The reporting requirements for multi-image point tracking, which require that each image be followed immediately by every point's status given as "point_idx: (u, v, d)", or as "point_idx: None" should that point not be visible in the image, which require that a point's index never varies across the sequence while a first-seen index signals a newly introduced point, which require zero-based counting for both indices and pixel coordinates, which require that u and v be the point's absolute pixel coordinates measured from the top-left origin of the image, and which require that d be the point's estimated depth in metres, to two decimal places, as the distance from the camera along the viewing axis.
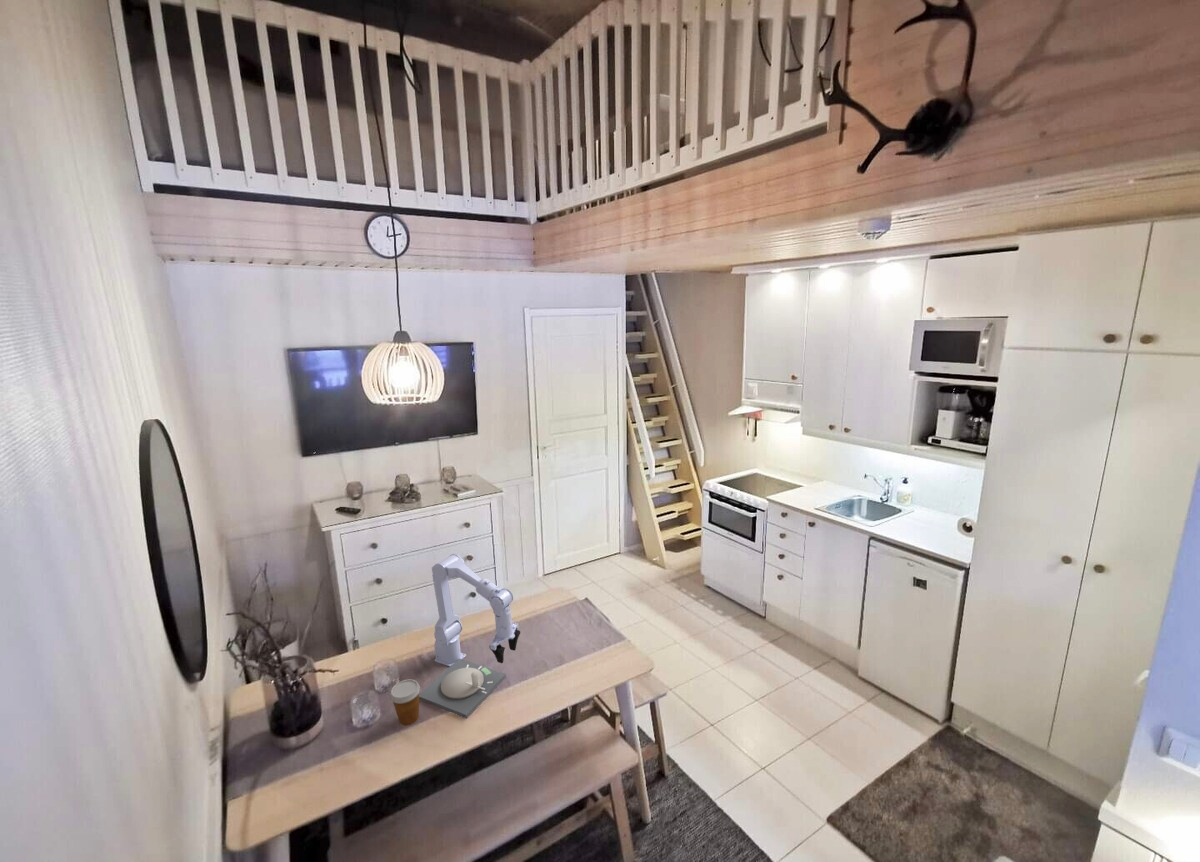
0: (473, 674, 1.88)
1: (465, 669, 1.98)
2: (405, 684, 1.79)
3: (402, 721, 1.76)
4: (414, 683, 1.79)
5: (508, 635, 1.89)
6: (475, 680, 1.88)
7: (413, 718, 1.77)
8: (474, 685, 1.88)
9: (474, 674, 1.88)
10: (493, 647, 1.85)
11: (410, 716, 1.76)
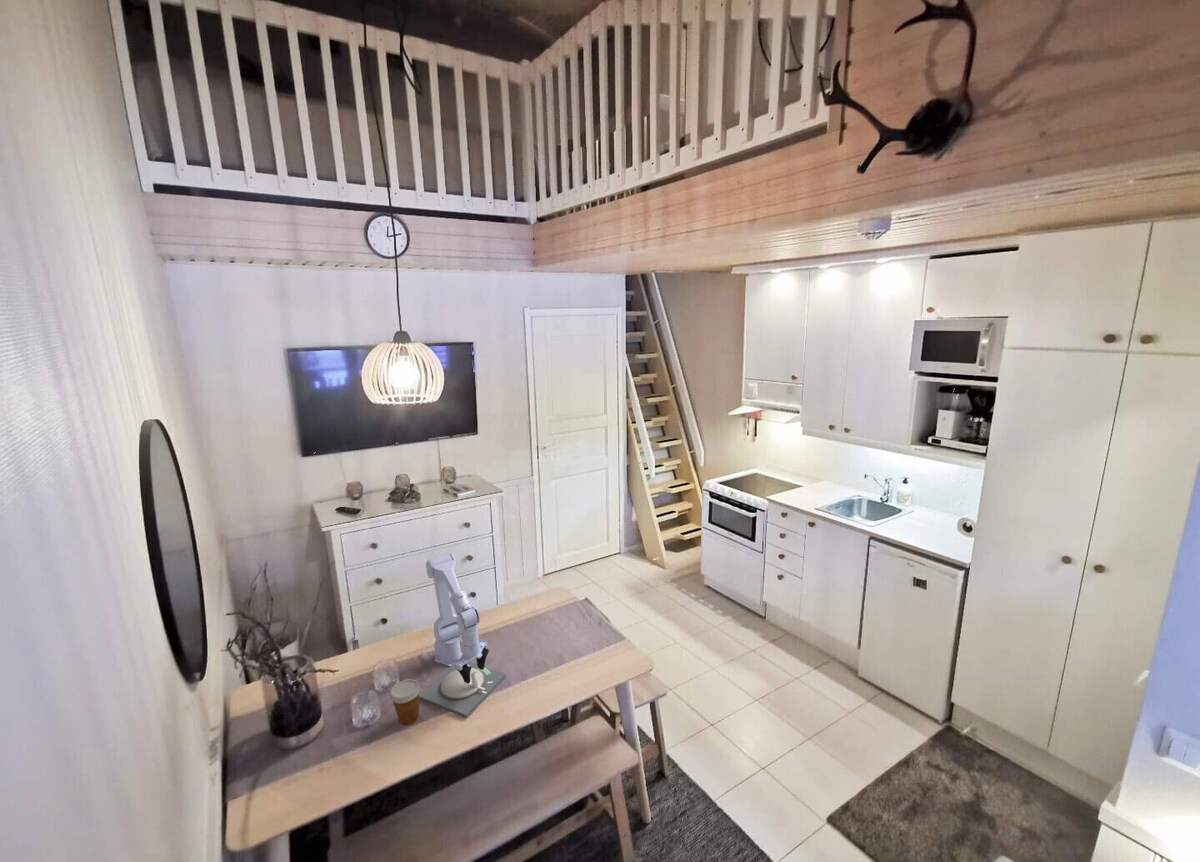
0: (473, 674, 1.88)
1: None
2: (405, 684, 1.79)
3: (402, 721, 1.76)
4: (414, 683, 1.79)
5: (475, 654, 1.84)
6: (475, 680, 1.88)
7: (413, 718, 1.77)
8: (474, 685, 1.88)
9: (474, 674, 1.88)
10: (459, 667, 1.80)
11: (410, 716, 1.76)
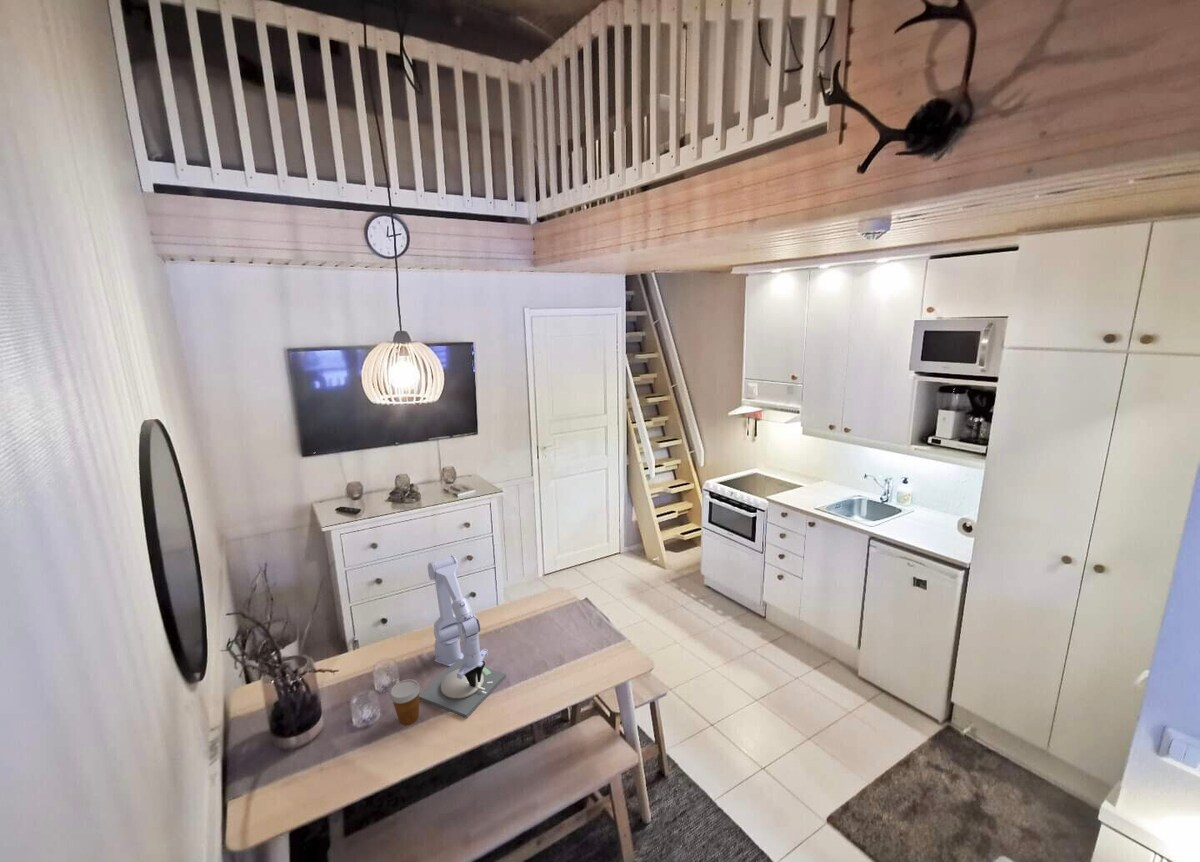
0: None
1: None
2: (405, 684, 1.79)
3: (402, 721, 1.76)
4: (414, 683, 1.79)
5: (476, 663, 1.85)
6: None
7: (413, 718, 1.77)
8: None
9: None
10: (460, 676, 1.81)
11: (410, 716, 1.76)
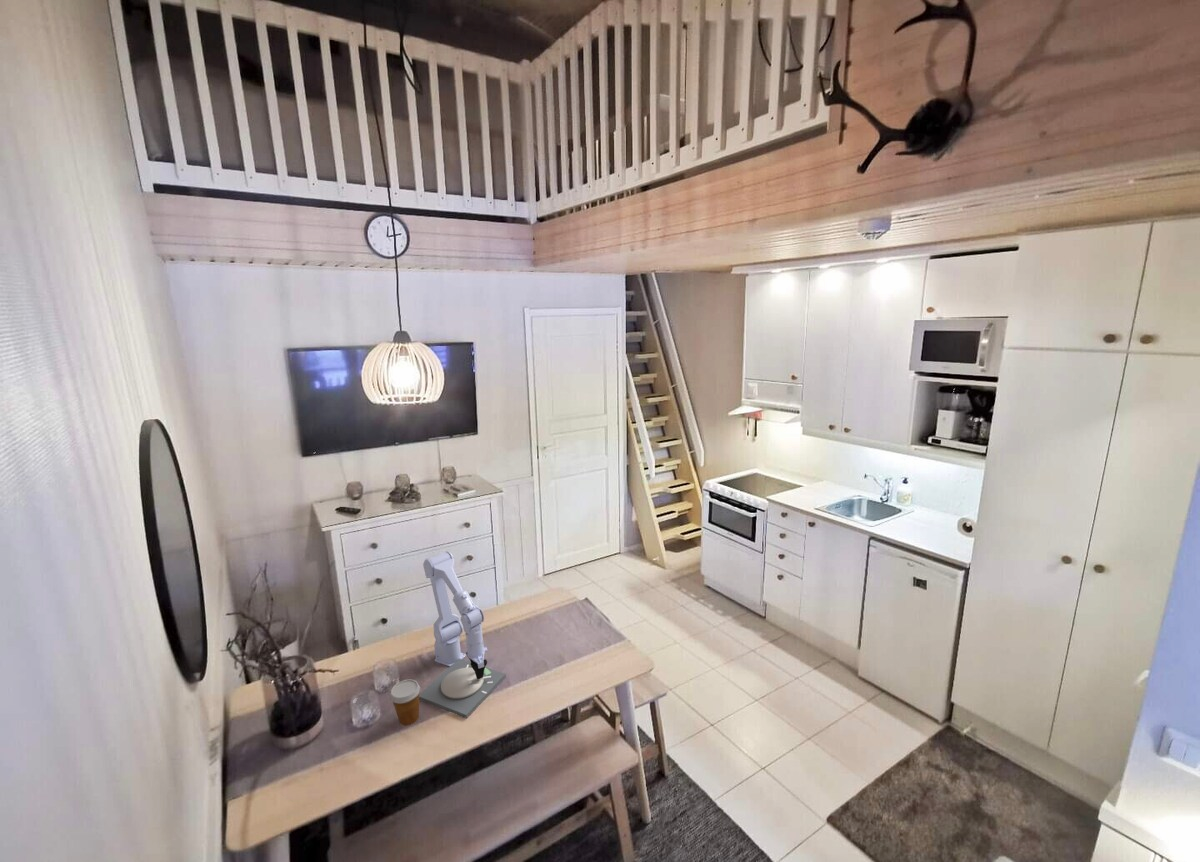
0: None
1: (454, 672, 1.97)
2: (405, 684, 1.79)
3: (402, 721, 1.76)
4: (414, 683, 1.79)
5: (483, 649, 1.92)
6: None
7: (413, 718, 1.77)
8: None
9: None
10: (483, 664, 1.86)
11: (410, 716, 1.76)
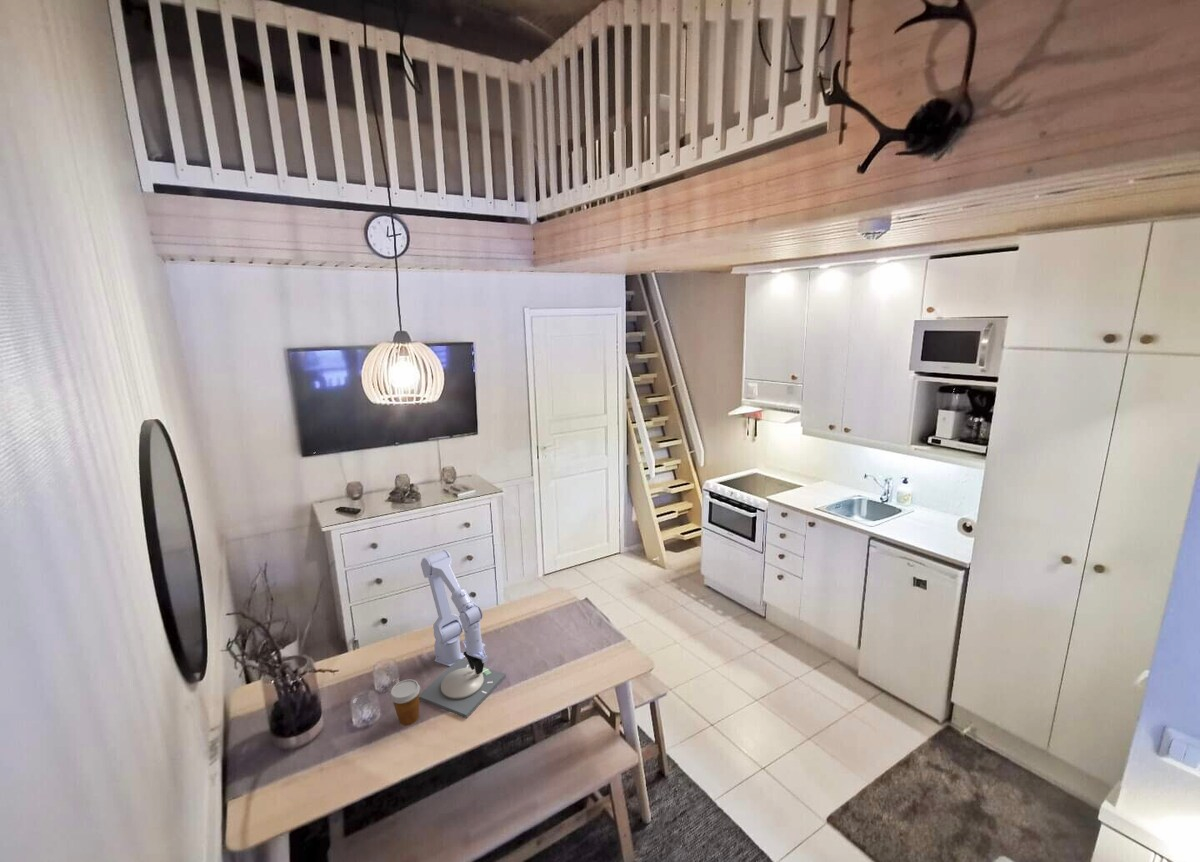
0: None
1: (448, 676, 1.95)
2: (405, 684, 1.79)
3: (402, 721, 1.76)
4: (414, 683, 1.79)
5: (482, 645, 1.94)
6: None
7: (413, 718, 1.77)
8: None
9: None
10: (486, 658, 1.89)
11: (410, 716, 1.76)
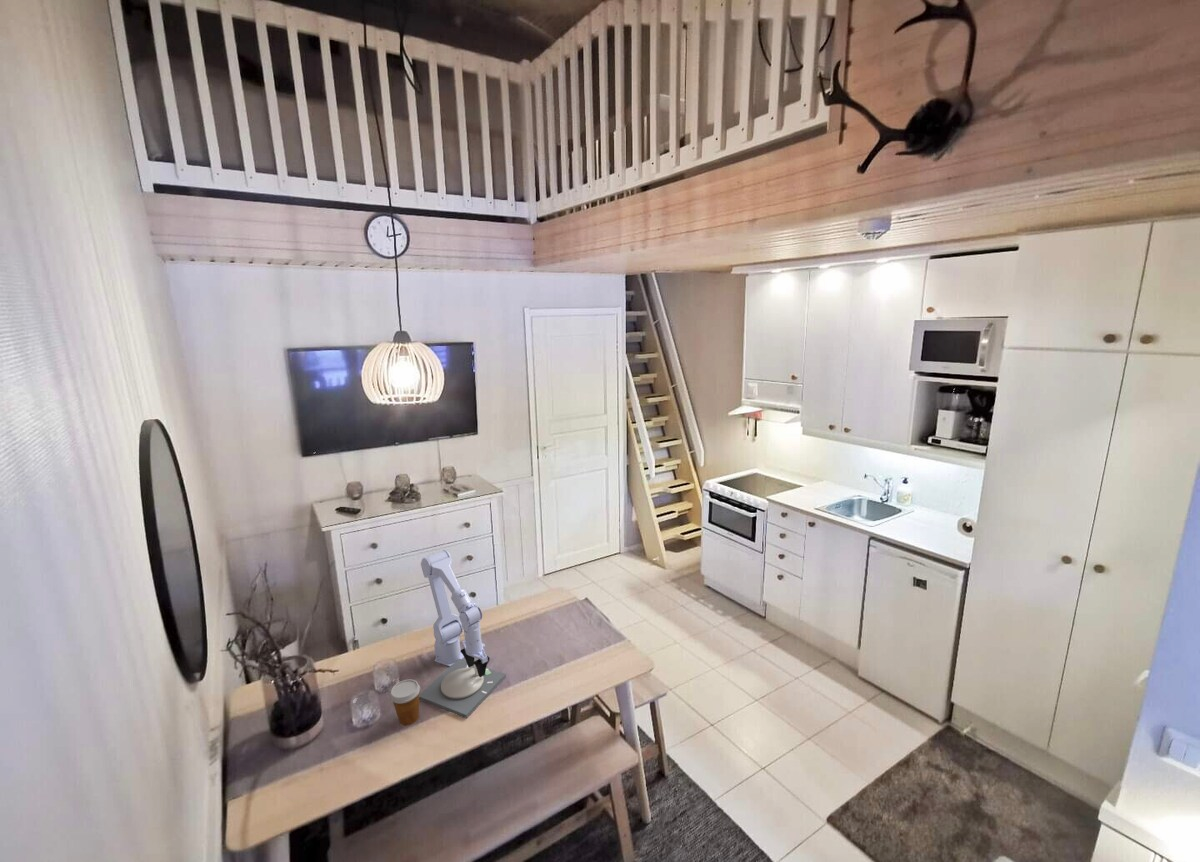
0: None
1: (448, 677, 1.95)
2: (405, 684, 1.79)
3: (402, 721, 1.76)
4: (414, 683, 1.79)
5: (481, 645, 1.94)
6: None
7: (413, 718, 1.77)
8: None
9: None
10: (486, 658, 1.89)
11: (410, 716, 1.76)
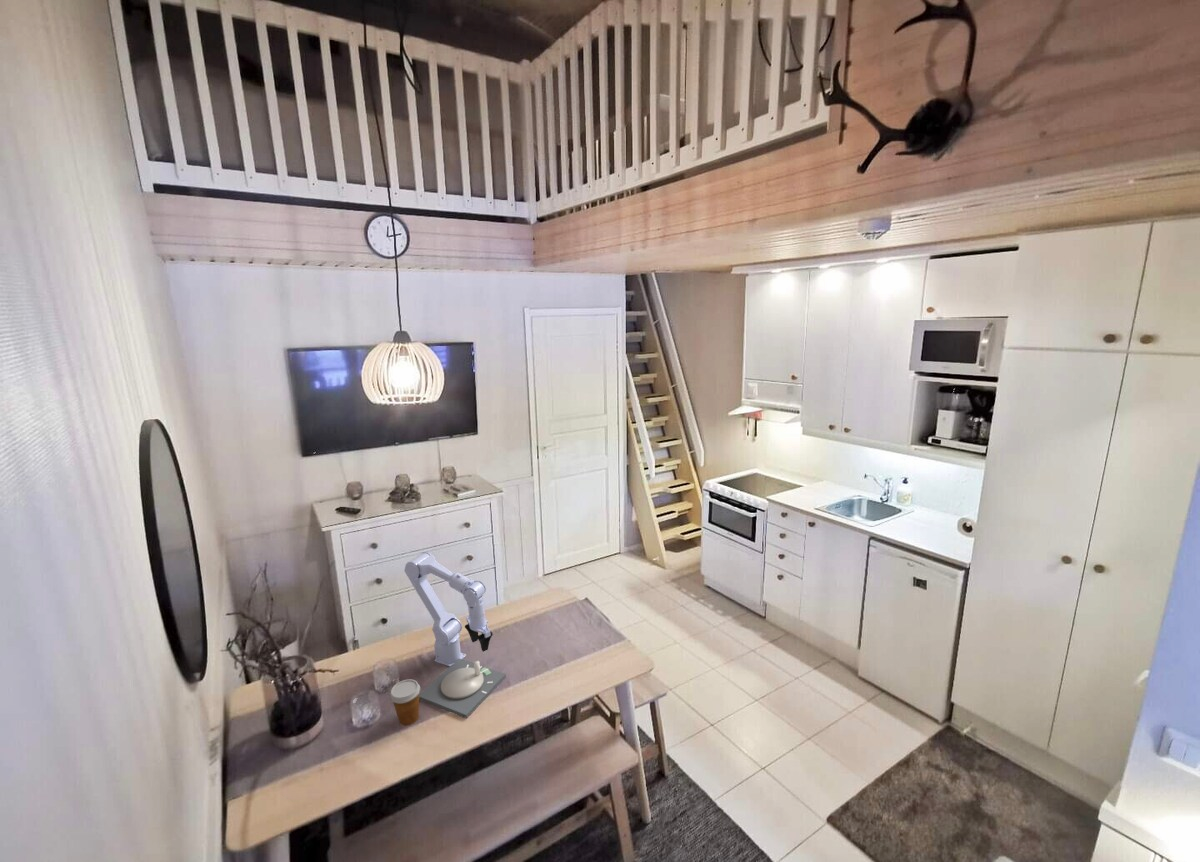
0: (476, 662, 1.94)
1: (448, 677, 1.95)
2: (405, 684, 1.79)
3: (402, 721, 1.76)
4: (414, 683, 1.79)
5: (485, 620, 2.00)
6: (479, 667, 1.95)
7: (413, 718, 1.77)
8: (479, 672, 1.95)
9: (477, 662, 1.94)
10: (489, 633, 1.95)
11: (410, 716, 1.76)
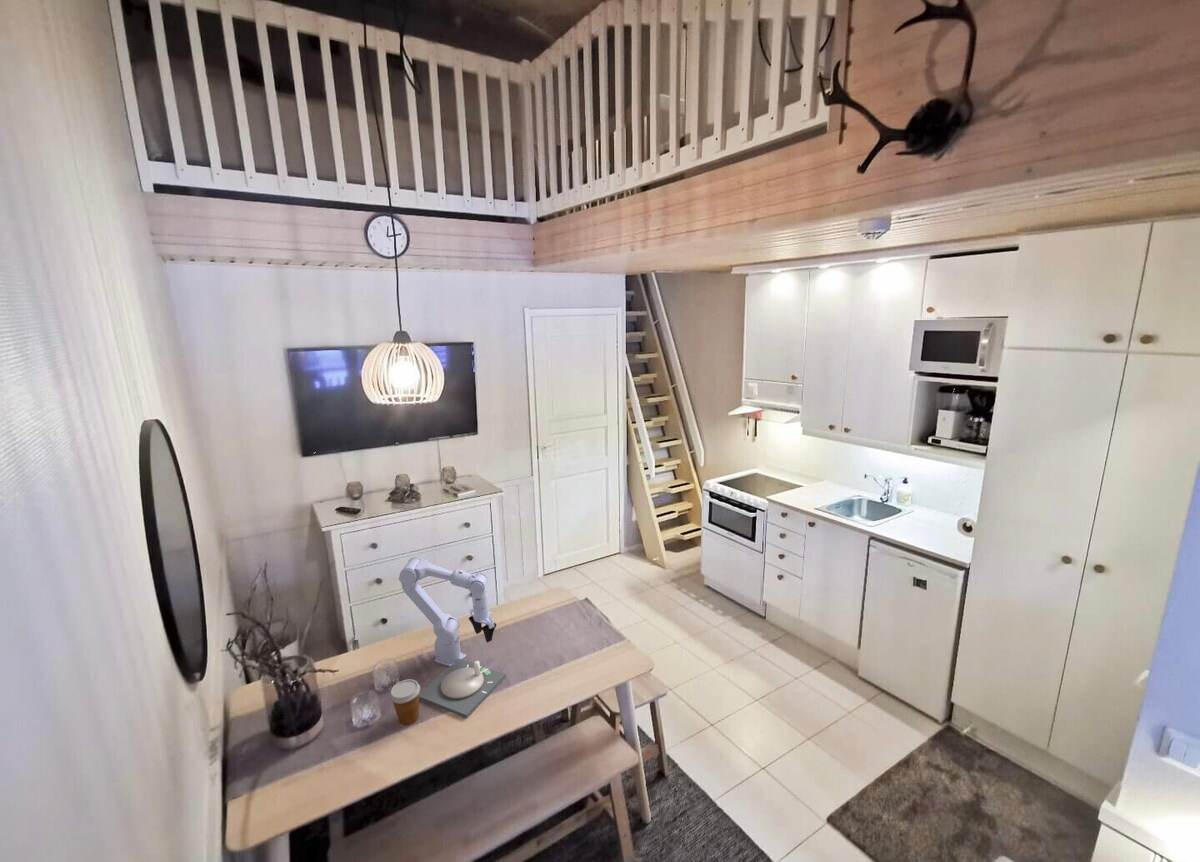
0: (476, 662, 1.94)
1: (448, 677, 1.95)
2: (405, 684, 1.79)
3: (402, 721, 1.76)
4: (414, 683, 1.79)
5: (488, 612, 2.05)
6: (479, 667, 1.95)
7: (413, 718, 1.77)
8: (479, 672, 1.95)
9: (477, 662, 1.94)
10: (493, 624, 2.00)
11: (410, 716, 1.76)
